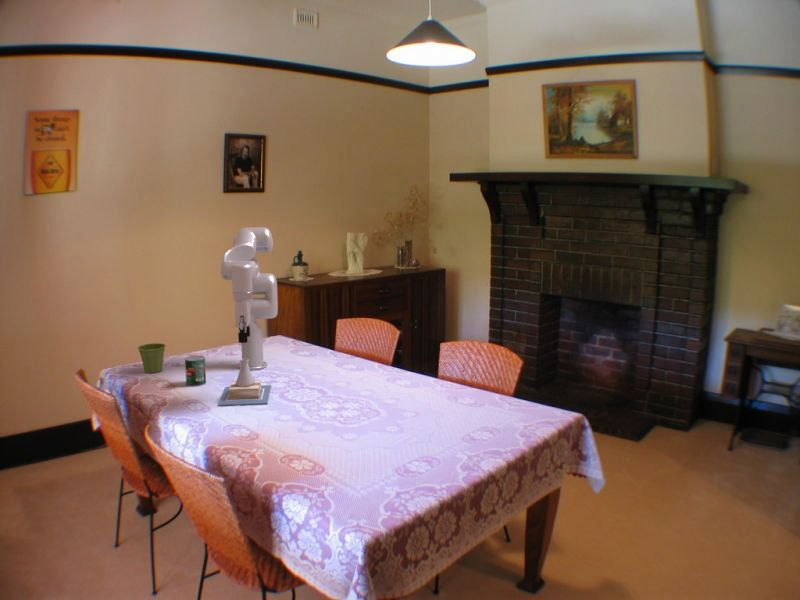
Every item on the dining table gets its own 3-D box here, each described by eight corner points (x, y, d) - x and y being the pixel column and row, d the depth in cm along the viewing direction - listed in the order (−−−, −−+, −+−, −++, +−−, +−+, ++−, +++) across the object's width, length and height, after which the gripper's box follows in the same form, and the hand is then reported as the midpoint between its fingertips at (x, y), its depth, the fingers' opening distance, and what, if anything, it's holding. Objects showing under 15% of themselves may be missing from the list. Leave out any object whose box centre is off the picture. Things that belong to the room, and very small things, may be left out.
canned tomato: (182, 385, 266) (180, 359, 264) (194, 380, 273) (192, 354, 271) (198, 387, 263) (197, 361, 262) (210, 381, 271) (208, 356, 269)
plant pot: (140, 368, 290) (138, 344, 288) (168, 366, 293) (166, 342, 291) (137, 376, 279) (136, 350, 277) (166, 373, 282) (165, 348, 280)
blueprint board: (225, 388, 262) (225, 386, 262) (270, 386, 265) (270, 384, 264) (218, 406, 241) (217, 404, 241) (267, 404, 243) (267, 402, 243)
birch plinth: (232, 390, 257) (232, 381, 257) (261, 389, 259) (260, 380, 258) (229, 399, 246) (229, 389, 246) (258, 398, 248) (258, 388, 247)
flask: (231, 385, 251) (230, 360, 249) (244, 380, 257) (243, 356, 255) (246, 388, 247) (245, 363, 246) (258, 383, 254) (257, 358, 252)
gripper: (235, 292, 255) (237, 334, 258) (229, 300, 238) (231, 345, 241) (254, 291, 256) (256, 334, 259) (250, 300, 239) (252, 344, 242)
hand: (244, 339), depth 250 cm, fingers open, 9 cm apart
